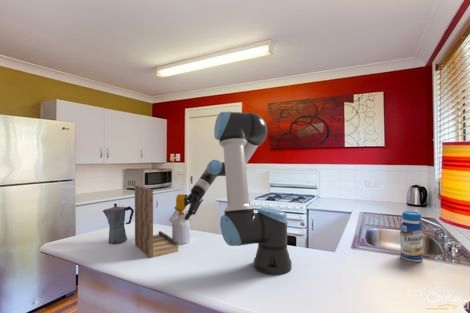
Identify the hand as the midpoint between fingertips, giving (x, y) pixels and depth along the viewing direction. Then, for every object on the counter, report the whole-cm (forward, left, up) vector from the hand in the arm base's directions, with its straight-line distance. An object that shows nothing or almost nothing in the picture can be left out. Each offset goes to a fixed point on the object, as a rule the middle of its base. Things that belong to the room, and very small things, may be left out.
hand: (175, 222), depth 137 cm
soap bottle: (+1, -3, -11) cm, 11 cm away
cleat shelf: (0, +11, -10) cm, 15 cm away
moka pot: (+22, +23, -11) cm, 33 cm away
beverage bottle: (-81, -74, -11) cm, 110 cm away
